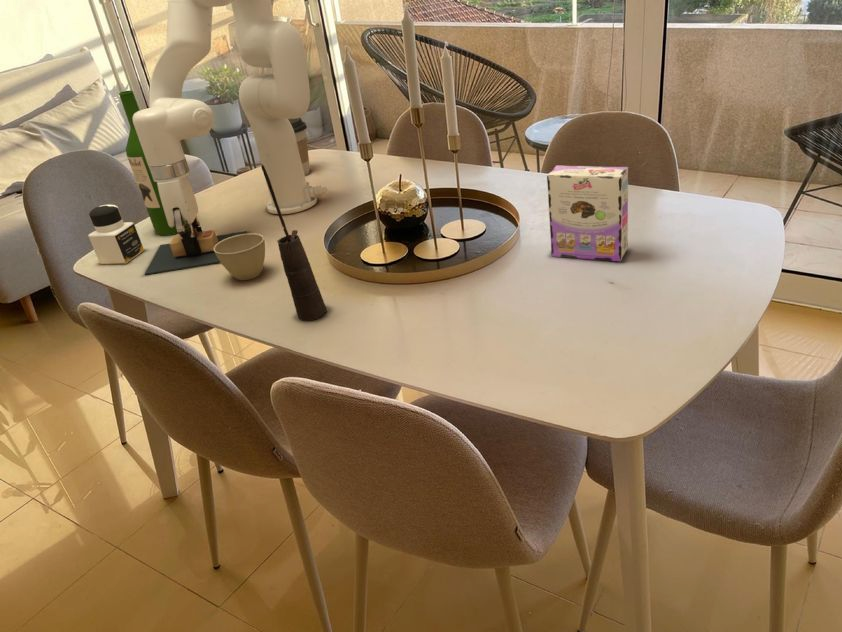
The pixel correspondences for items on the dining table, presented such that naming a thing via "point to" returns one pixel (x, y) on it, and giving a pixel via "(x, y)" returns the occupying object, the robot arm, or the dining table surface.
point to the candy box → (588, 212)
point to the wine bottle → (144, 171)
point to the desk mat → (182, 258)
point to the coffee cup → (301, 142)
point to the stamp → (204, 239)
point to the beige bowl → (242, 255)
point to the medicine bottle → (113, 236)
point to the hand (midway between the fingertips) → (196, 248)
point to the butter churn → (298, 271)
